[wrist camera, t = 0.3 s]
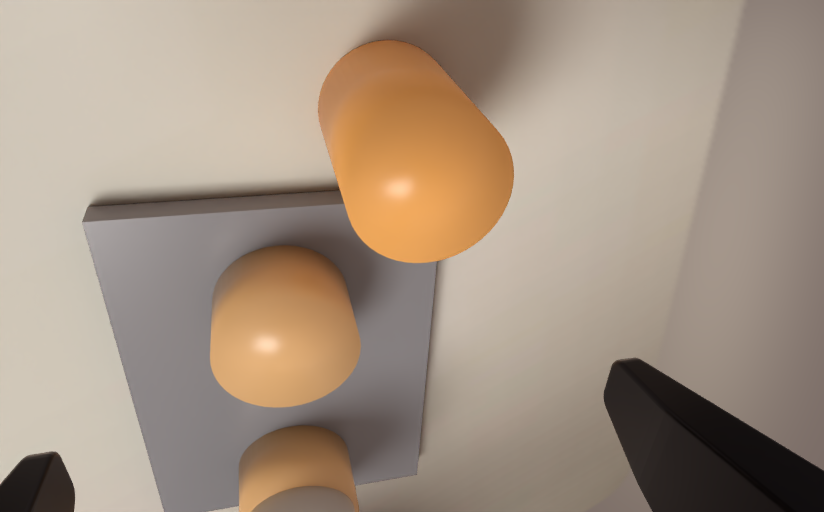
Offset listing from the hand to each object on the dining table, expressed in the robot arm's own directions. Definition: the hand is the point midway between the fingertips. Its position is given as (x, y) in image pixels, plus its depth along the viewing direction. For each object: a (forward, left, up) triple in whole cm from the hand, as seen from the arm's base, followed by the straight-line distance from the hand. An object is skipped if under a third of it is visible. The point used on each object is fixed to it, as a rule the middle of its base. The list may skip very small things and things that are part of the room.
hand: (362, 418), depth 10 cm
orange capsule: (0, -3, -13) cm, 13 cm away
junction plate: (-11, +1, -13) cm, 17 cm away
